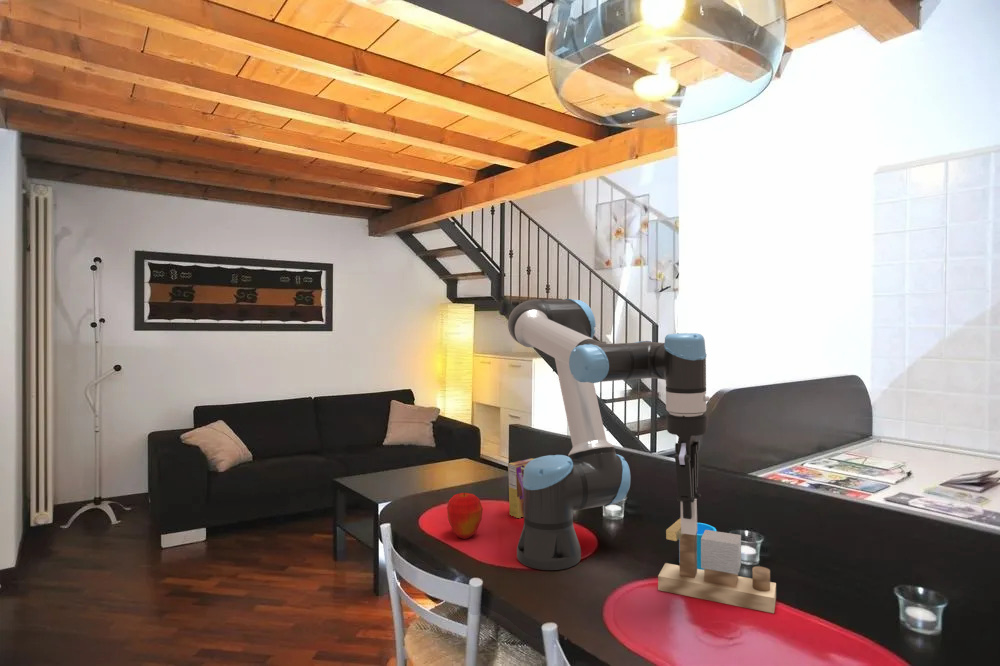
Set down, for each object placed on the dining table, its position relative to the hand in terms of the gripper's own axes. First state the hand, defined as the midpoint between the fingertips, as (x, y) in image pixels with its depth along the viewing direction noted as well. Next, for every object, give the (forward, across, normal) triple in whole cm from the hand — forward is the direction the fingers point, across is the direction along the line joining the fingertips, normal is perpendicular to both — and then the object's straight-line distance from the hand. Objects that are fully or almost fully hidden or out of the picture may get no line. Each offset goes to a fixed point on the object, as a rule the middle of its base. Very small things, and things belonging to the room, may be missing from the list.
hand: (689, 532), depth 116 cm
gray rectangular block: (+9, +8, -5) cm, 13 cm away
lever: (+1, +3, +2) cm, 4 cm away
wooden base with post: (+15, +7, -4) cm, 17 cm away
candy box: (+15, +35, +52) cm, 64 cm away
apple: (+14, +13, +59) cm, 62 cm away
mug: (+15, +23, +1) cm, 27 cm away
